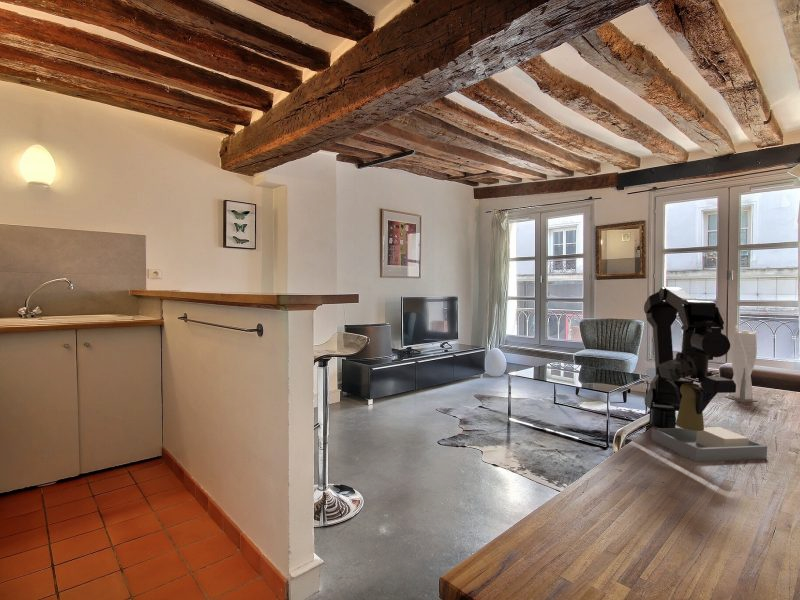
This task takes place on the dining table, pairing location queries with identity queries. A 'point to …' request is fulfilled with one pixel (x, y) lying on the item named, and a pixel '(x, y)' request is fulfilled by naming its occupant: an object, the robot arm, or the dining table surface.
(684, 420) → the olive tall rounded piece
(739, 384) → the skyscraper
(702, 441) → the cream beveled block
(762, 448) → the tray
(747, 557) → the dining table surface
